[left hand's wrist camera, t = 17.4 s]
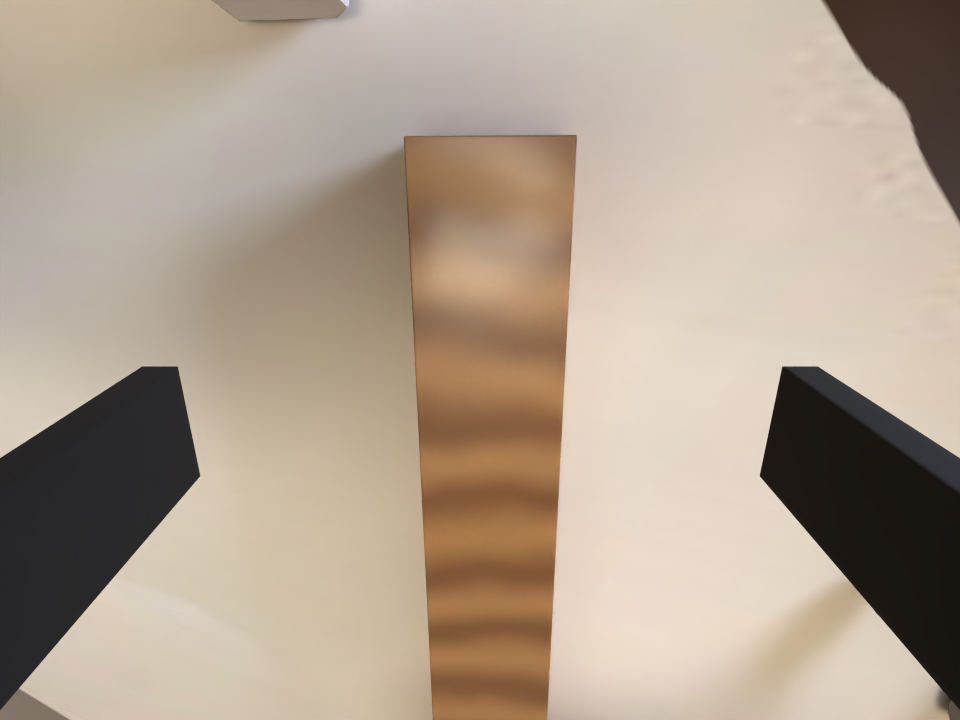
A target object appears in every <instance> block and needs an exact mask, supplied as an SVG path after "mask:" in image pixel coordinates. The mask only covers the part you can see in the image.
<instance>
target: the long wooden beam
mask: <svg viewBox="0 0 960 720" xmlns="http://www.w3.org/2000/svg"><path fill="white" fill-rule="evenodd" d="M576 145H577V136H576V135H513V136H405V137H404V148H405V168H406V188H407V208H408V228H409V248H410V268H411V288H412V308H413V328H414V348H415V368H416V388H417V408H418V428H419V448H420V468H421V488H422V508H423V528H424V548H425V568H426V588H427V608H428V628H429V648H430V668H431V688H432V708H433V720H547V708H548V689H549V669H550V650H551V631H552V611H553V592H554V572H555V553H556V533H557V514H558V495H559V475H560V456H561V436H562V417H563V397H564V378H565V359H566V339H567V320H568V300H569V281H570V261H571V242H572V223H573V203H574V184H575V164H576Z"/></svg>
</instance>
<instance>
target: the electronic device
mask: <svg viewBox="0 0 960 720" xmlns="http://www.w3.org/2000/svg"><path fill="white" fill-rule="evenodd" d="M212 1H213V2H215V3H216V4H217V5H219V6H220V7H221V8H223V9H224V10H225V11H226V12H228V13H229V14H230V15H232V16H233V17H234V18H236V19H237V20H238V21H255V20H283V19H310V18H337V17H338V16H339V15H340V14H341V13H342V12H343V11H344V10H345V9H346V8H347V7H348V4H349V1H350V0H212Z"/></svg>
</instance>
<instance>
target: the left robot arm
mask: <svg viewBox="0 0 960 720" xmlns="http://www.w3.org/2000/svg"><path fill="white" fill-rule="evenodd" d="M199 477H200V473H199V468H198V463H197V458H196V453H195V448H194V444H193V439H192V434H191V429H190V424H189V419H188V415H187V410H186V405H185V400H184V395H183V390H182V386H181V381H180V376H179V371H178V367H141V368H139V369H138V370H136V371H135V372H133V373H132V374H130V375H128V376H127V377H125V378H124V379H122V380H121V381H119V382H118V383H116V384H115V385H113V386H111V387H110V388H108V389H107V390H105V391H104V392H102V393H101V394H99V395H98V396H96V397H94V398H93V399H91V400H90V401H88V402H87V403H85V404H84V405H82V406H80V407H79V408H77V409H76V410H74V411H73V412H71V413H70V414H68V415H67V416H65V417H63V418H62V419H60V420H59V421H57V422H56V423H54V424H53V425H51V426H49V427H48V428H46V429H45V430H43V431H42V432H40V433H39V434H37V435H36V436H34V437H32V438H31V439H29V440H28V441H26V442H25V443H23V444H22V445H20V446H18V447H17V448H15V449H14V450H12V451H11V452H9V453H8V454H6V455H5V456H3V457H1V458H0V710H1V708H2V707H3V706H4V705H5V704H6V703H7V701H8V700H9V699H10V698H11V697H12V696H13V694H14V693H15V692H16V691H17V690H18V689H19V687H20V686H21V685H22V684H23V683H24V682H25V680H26V679H27V678H28V677H29V676H30V675H31V673H32V672H33V671H34V670H35V669H36V668H37V666H38V665H39V664H40V663H41V662H42V661H43V659H44V658H45V657H46V656H47V655H48V654H49V652H50V651H51V650H52V649H53V648H54V646H55V645H56V644H57V643H58V642H59V641H60V639H61V638H62V637H63V636H64V635H65V634H66V632H67V631H68V630H69V629H70V628H71V627H72V625H73V624H74V623H75V622H76V621H77V620H78V618H79V617H80V616H81V615H82V614H83V613H84V611H85V610H86V609H87V608H88V607H89V606H90V604H91V603H92V602H93V601H94V600H95V599H96V597H97V596H98V595H99V594H100V593H101V591H102V590H103V589H104V588H105V587H106V586H107V584H108V583H109V582H110V581H111V580H112V579H113V577H114V576H115V575H116V574H117V573H118V572H119V570H120V569H121V568H122V567H123V566H124V565H125V563H126V562H127V561H128V560H129V559H130V558H131V556H132V555H133V554H134V553H135V552H136V551H137V549H138V548H139V547H140V546H141V545H142V544H143V542H144V541H145V540H146V539H147V538H148V537H149V535H150V534H151V533H152V532H153V531H154V529H155V528H156V527H157V526H158V525H159V524H160V522H161V521H162V520H163V519H164V518H165V517H166V515H167V514H168V513H169V512H170V511H171V510H172V508H173V507H174V506H175V505H176V504H177V503H178V501H179V500H180V499H181V498H182V497H183V496H184V494H185V493H186V492H187V491H188V490H189V489H190V487H191V486H192V485H193V484H194V483H195V482H196V480H197V479H198V478H199ZM760 477H761V478H762V479H763V480H764V482H765V483H766V484H767V485H768V486H769V487H770V489H771V490H772V491H773V492H774V493H775V494H776V496H777V497H778V498H779V499H780V500H781V501H782V503H783V504H784V505H785V506H786V507H787V508H788V510H789V511H790V512H791V513H792V514H793V515H794V517H795V518H796V519H797V520H798V521H799V522H800V524H801V525H802V526H803V527H804V528H805V529H806V531H807V532H808V533H809V534H810V535H811V537H812V538H813V539H814V540H815V541H816V542H817V544H818V545H819V546H820V547H821V548H822V549H823V551H824V552H825V553H826V554H827V555H828V556H829V558H830V559H831V560H832V561H833V562H834V563H835V565H836V566H837V567H838V568H839V569H840V570H841V572H842V573H843V574H844V575H845V576H846V577H847V579H848V580H849V581H850V582H851V583H852V584H853V586H854V587H855V588H856V589H857V590H858V592H859V593H860V594H861V595H862V596H863V597H864V599H865V600H866V601H867V602H868V603H869V604H870V606H871V607H872V608H873V609H874V610H875V611H876V613H877V614H878V615H879V616H880V617H881V618H882V620H883V621H884V622H885V623H886V624H887V625H888V627H889V628H890V629H891V630H892V631H893V632H894V634H895V635H896V636H897V637H898V638H899V639H900V641H901V642H902V643H903V644H904V645H905V646H906V648H907V649H908V650H909V651H910V652H911V654H912V655H913V656H914V657H915V658H916V659H917V661H918V662H919V663H920V664H921V665H922V666H923V668H924V669H925V670H926V671H927V672H928V673H929V675H930V676H931V677H932V678H933V679H934V680H935V682H936V683H937V684H938V685H939V686H940V687H941V689H942V690H943V691H944V692H945V693H946V694H947V696H948V697H949V698H950V699H951V700H952V701H953V703H954V704H955V705H956V706H957V707H958V708H959V710H960V458H959V457H957V456H955V455H954V454H952V453H951V452H949V451H948V450H946V449H945V448H943V447H942V446H940V445H938V444H937V443H935V442H934V441H932V440H931V439H929V438H928V437H926V436H924V435H923V434H921V433H920V432H918V431H917V430H915V429H914V428H912V427H911V426H909V425H907V424H906V423H904V422H903V421H901V420H900V419H898V418H897V417H895V416H893V415H892V414H890V413H889V412H887V411H886V410H884V409H883V408H881V407H880V406H878V405H876V404H875V403H873V402H872V401H870V400H869V399H867V398H866V397H864V396H862V395H861V394H859V393H858V392H856V391H855V390H853V389H852V388H850V387H849V386H847V385H845V384H844V383H842V382H841V381H839V380H838V379H836V378H835V377H833V376H832V375H830V374H828V373H827V372H825V371H824V370H822V369H821V368H819V367H782V371H781V376H780V381H779V386H778V390H777V395H776V400H775V405H774V410H773V415H772V419H771V424H770V429H769V434H768V439H767V444H766V448H765V453H764V458H763V463H762V468H761V473H760Z"/></svg>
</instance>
